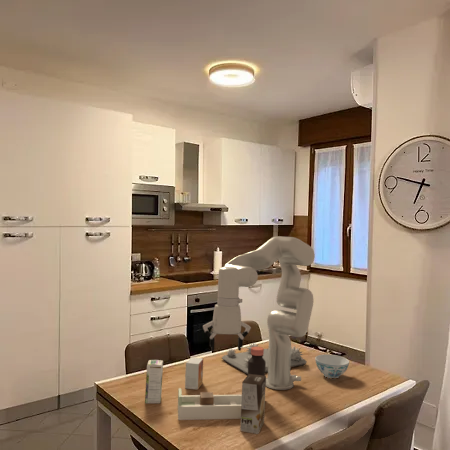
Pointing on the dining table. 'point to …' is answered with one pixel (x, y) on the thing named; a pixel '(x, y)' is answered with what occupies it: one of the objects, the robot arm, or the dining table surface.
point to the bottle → (256, 362)
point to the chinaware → (331, 365)
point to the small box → (194, 373)
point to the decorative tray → (242, 358)
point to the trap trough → (209, 407)
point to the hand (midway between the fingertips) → (225, 349)
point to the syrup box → (154, 381)
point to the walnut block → (206, 398)
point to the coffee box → (253, 403)
